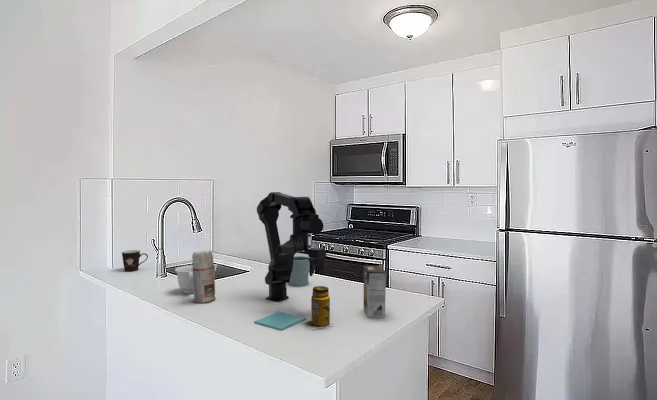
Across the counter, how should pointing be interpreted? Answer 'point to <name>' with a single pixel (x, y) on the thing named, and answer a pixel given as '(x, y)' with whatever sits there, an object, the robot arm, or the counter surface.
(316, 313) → the condiment
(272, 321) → the mat
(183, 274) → the teacup
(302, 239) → the robot arm
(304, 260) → the grey teal cup
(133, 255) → the coffee mug
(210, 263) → the spray can
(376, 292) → the coffee box
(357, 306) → the counter surface
